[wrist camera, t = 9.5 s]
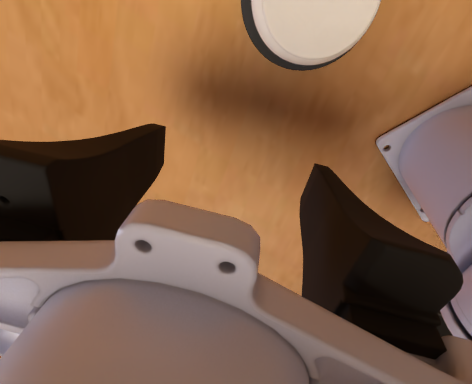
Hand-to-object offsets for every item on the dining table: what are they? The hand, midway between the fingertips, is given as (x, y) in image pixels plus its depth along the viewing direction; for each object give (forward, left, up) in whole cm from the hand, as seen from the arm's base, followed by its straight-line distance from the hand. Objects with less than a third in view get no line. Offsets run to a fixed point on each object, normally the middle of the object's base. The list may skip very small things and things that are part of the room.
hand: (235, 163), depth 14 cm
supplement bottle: (+3, -6, -10) cm, 12 cm away
